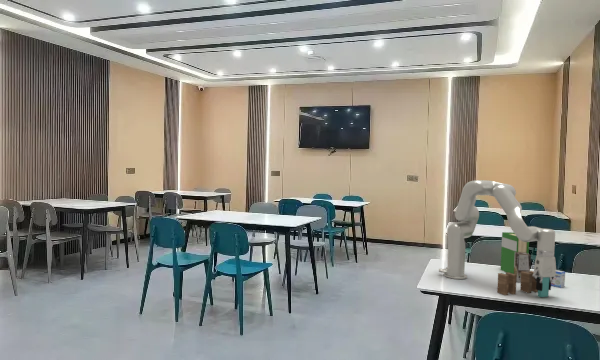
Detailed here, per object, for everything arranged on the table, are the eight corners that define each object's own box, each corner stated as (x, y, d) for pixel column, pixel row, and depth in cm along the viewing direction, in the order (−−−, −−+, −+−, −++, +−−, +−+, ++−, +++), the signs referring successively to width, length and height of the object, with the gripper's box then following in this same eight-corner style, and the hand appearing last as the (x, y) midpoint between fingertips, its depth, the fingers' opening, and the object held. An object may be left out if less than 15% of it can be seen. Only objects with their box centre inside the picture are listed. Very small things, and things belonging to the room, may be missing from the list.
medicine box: (545, 284, 246) (546, 269, 245) (549, 283, 248) (550, 268, 248) (560, 288, 239) (561, 272, 239) (564, 287, 242) (565, 271, 242)
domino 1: (504, 295, 221) (505, 275, 221) (497, 292, 226) (498, 273, 226) (507, 294, 222) (508, 275, 222) (500, 292, 227) (501, 272, 226)
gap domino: (548, 296, 221) (549, 276, 220) (540, 297, 219) (542, 277, 219) (544, 295, 222) (546, 275, 222) (537, 296, 221) (538, 276, 220)
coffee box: (529, 283, 246) (531, 255, 246) (517, 282, 248) (518, 254, 247) (525, 280, 255) (526, 252, 255) (513, 279, 256) (514, 251, 256)
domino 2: (512, 294, 223) (513, 274, 223) (505, 291, 228) (505, 272, 228) (515, 294, 224) (516, 274, 224) (507, 291, 229) (508, 272, 228)
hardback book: (527, 276, 263) (529, 236, 262) (515, 276, 263) (517, 236, 262) (511, 270, 281) (513, 232, 280) (500, 269, 280) (502, 232, 280)
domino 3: (528, 293, 227) (529, 273, 227) (520, 290, 232) (521, 271, 231) (531, 292, 228) (532, 273, 227) (523, 290, 232) (524, 271, 232)
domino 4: (535, 292, 229) (536, 273, 228) (527, 289, 233) (528, 271, 233) (538, 292, 229) (539, 273, 229) (530, 289, 234) (531, 270, 234)
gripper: (539, 255, 213) (537, 293, 214) (564, 254, 219) (562, 290, 220) (526, 252, 220) (524, 288, 221) (551, 251, 226) (549, 286, 227)
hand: (543, 289), depth 221 cm, fingers closed on gap domino, 4 cm apart
